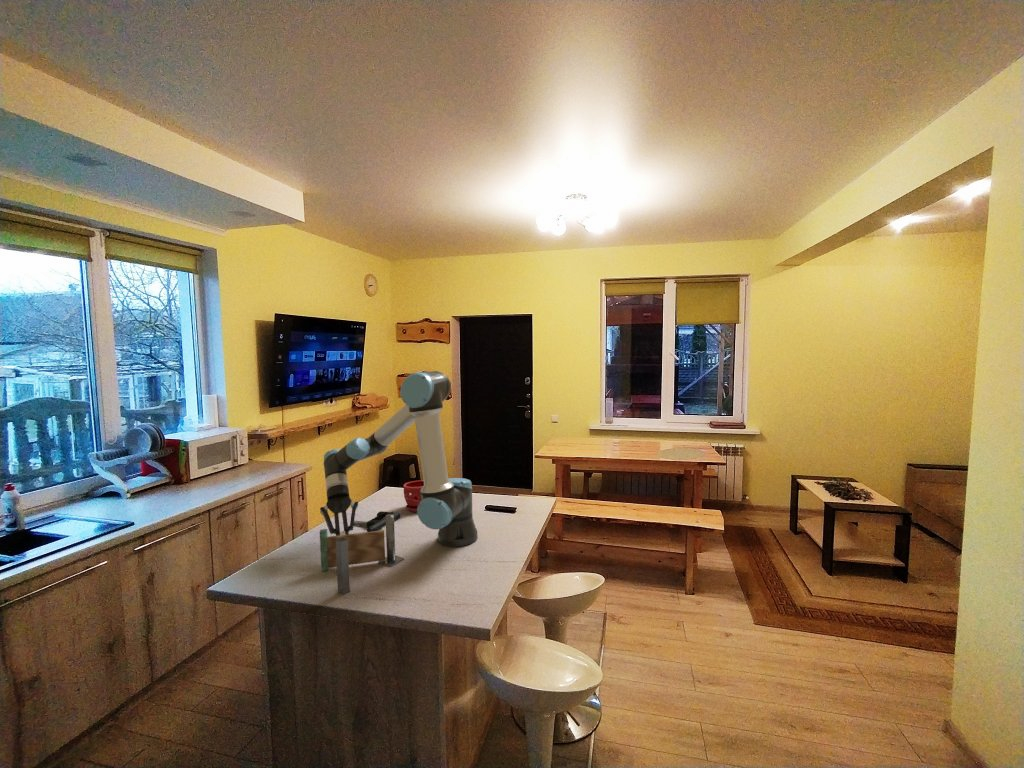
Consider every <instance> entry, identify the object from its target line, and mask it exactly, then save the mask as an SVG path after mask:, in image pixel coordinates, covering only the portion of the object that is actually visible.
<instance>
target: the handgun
mask: <svg viewBox="0 0 1024 768" xmlns="http://www.w3.org/2000/svg"><path fill="white" fill-rule="evenodd" d="M388 514H394V522H395V521H396V520H398V519H400V518H401V516H402V513H401V512H400V511H382V510H381V511H379V512H377V514H376V516H375V517H373V518H372V519H369V520H368V521H366V520H365V521H363V520H354V526H355V525H359V526H358V527H362V526H364V527H363V528H366V532H371V531H380V530H384V529H386V518H385V516H386V515H388Z"/></svg>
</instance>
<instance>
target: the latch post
mask: <svg viewBox="0 0 1024 768" xmlns="http://www.w3.org/2000/svg"><path fill="white" fill-rule="evenodd" d="M336 563H337V567H336V579H337V580H336V581H337V594H340V595H341V594H342V595H341V596H344V595H346V594H348V593H350V592H351V591H350V590H351V588H350V587H351V586H350V585H351V584H350V565H349V558H348V539H346V538H340V539H338V540H336Z"/></svg>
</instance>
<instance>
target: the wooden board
mask: <svg viewBox="0 0 1024 768" xmlns="http://www.w3.org/2000/svg"><path fill="white" fill-rule="evenodd" d="M340 538H346V539H348V558H349V566H350V565H351V566H352V565H359V564H366V563H373V562H378V561H382V560H385V557H386V546H385V544H386V543H385V542H386V539H385V529H380V530H378V531H371V532H367V531H364V532H356V533H349V534H347V535H338V536H336V535H332V536H330V535H329V536H328V528H323V529H320V530H319V548H320V565H321V566H320V570H321V572H324V571H328V570H329V569H332V568H337V563H336V540H338V539H340Z"/></svg>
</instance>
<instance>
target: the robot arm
mask: <svg viewBox="0 0 1024 768" xmlns="http://www.w3.org/2000/svg"><path fill="white" fill-rule="evenodd" d="M451 391H452V383H451V380H450V378H449V377H448V376H447V375H446V374H445V373H443V372H441V371H439V370H438V371H437V370H435V371H434V370H432V371H418V372H414V373H411V374H409V375H408V376H406V377H405V378H404V380H403V381H402V383H401V387H400V397H401V400H402V402H403V403H405V404H404V405H403V406H402V407H401V408H400V409H398V410H397V411H396V412H395V413H394V414H393V415H391V417H390V418H388V419H387V420H386V421H385V422H384V423H383V424H381V426H379V427H378V428H377V429H376V430H375V431H374V432H373V433H372V434H371V435H370V436H368V437H365V438H364V437H363V438H362V437H355V438H353V439H352V440H350V441H349V442H348V443H347V444H346V445H344V446H343V447H342V448H340V449H339V448H335V449H334V448H333V449H331V450H328V451H326V452H325V453H324V455H323V464H322V465H323V469H324V477H325V478H324V479H325V489H326V499H327V500H326V503H325V506H321V507H320V509H319V510H320V514H321V515H322V516H323V518H324V520H325V522H326V523H325V524H326V526H327V530H328V531H329V533H330V535H335V536H338V535H347V534H350V531H353V530H354V527H355V525H354V521H355V519H356V518H355V516H356V511H357V509H358V507H359V501H352V498H351V497H350V489H349V483H348V473H347V470H349V469H350V468H351V467H352V466H354V465H355V464H356V463H358V462H360V461H364V460H366V459H368V458H371V457H375V456H377V455H381V454H382V453H384V452H385V451H386V450H387V449H388V446H390V444H392V442H394V441H395V440H396V439H397V438H398V437H399V436H401V435H402V434H403V433H404V432H405V431H406V430H407V429H409V428H410V427H411V426H412V425H413V424H414V423H415V429H416V435H417V443H418V451H419V456H420V458H419V459H420V464H421V472H422V477H423V478H422V480H424V486H423V487H422V489H421V498H422V500H421V502H420V503H419V505H418V508H417V512H416V513H417V516H418V519H419V521H420V522H421V524H423V525H424V526H425V527H426V528H428V529H431V530H438V533H437V541H438V543H439V544H441V545H443V546H446V547H452V546H455V547H456V546H457V547H463V546H468V545H472V544H473V543H475V542H476V541H477V540H478V538H479V537H478V536H479V535H478V529H477V527H476V524H475V521H474V518H473V487H472V486H473V484H472V481H471V480H470V479H467V478H464V477H463V478H462V477H449V474H448V465H447V459H446V452H445V444H444V438H443V429H442V423H441V421H442V420H441V414H440V413H441V412H442V410H443V409H444V405H443V402H444V401H445V400H446V399H447V398H448V397H449V396H450V394H451ZM349 508H351V515H350V520H349V522H350V523H348V515H347V511H348V509H349ZM328 510H329V511H330V512H331V513H333V518H334V525H333V523H332V520H331V517H330V515H329V511H328ZM340 513H341V517H342V525H343V530H341V528H340V526H341V525H340V517H339V514H340Z"/></svg>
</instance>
